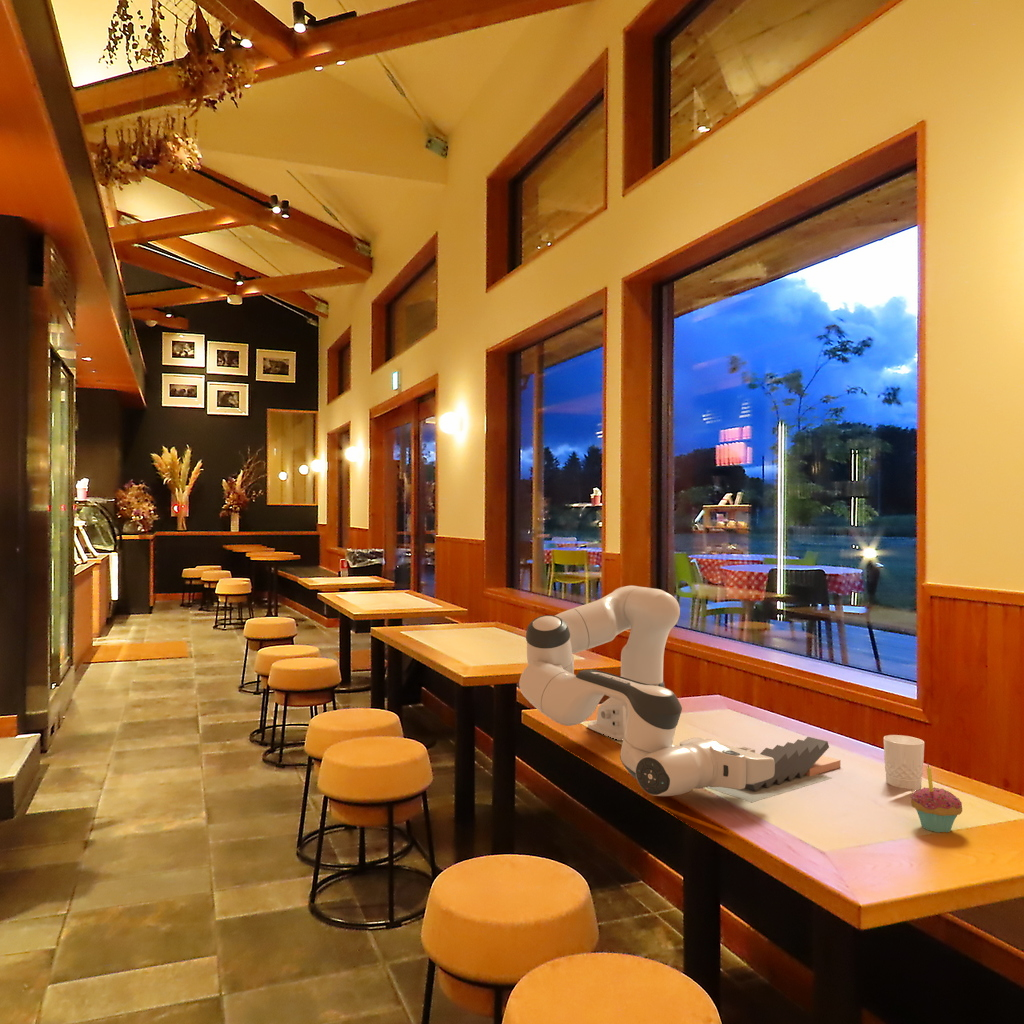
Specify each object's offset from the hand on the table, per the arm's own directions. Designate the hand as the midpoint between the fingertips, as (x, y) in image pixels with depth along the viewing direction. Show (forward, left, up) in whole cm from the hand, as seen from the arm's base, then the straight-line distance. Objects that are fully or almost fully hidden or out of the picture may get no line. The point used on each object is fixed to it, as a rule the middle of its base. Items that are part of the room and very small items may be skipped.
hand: (749, 751), depth 170 cm
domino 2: (0, +2, -7) cm, 7 cm away
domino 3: (0, +6, -7) cm, 9 cm away
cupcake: (+33, +11, -8) cm, 36 cm away
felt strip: (0, +7, -8) cm, 10 cm away
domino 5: (0, +14, -7) cm, 16 cm away
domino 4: (0, +10, -7) cm, 12 cm away
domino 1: (0, -2, -7) cm, 7 cm away
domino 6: (0, +18, -7) cm, 19 cm away
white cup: (+17, +30, -8) cm, 36 cm away
